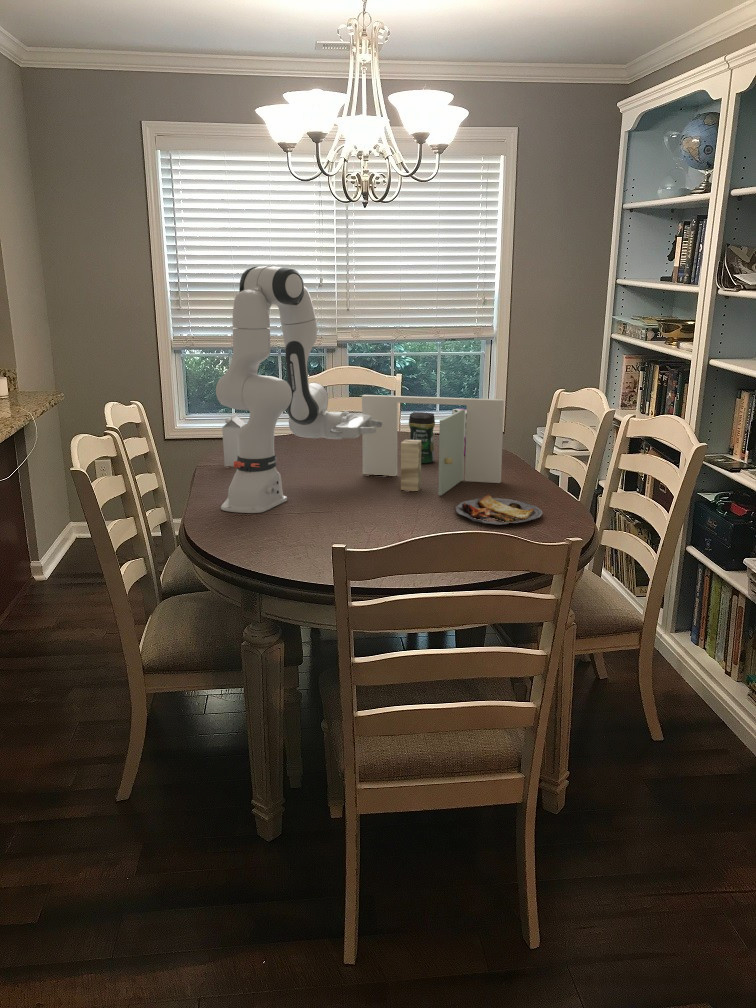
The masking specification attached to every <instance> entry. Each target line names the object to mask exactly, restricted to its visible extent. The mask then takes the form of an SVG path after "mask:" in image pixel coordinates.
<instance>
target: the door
mask: <svg viewBox="0 0 756 1008" xmlns="http://www.w3.org/2000/svg"><path fill="white" fill-rule="evenodd" d="M461 409H462V410H460V411H458V412H456V413H454V414H450V415H447V416H446V417H443V418H441V419H439V430H438V431H439V437H438V438H439V439H438V440H439V441H438V442H439V444H438V445H439V446H438V448H439V449H438V493H437V494H438V496H442V495H444V494H445V493H446V492H448V491H449V490H451V489H452V488H454V487H455V486H456V485H458V484H459V483H460V482H462V481H463V480H464V471H465V456H464V455H465V454H464V431H465V410H466V409H465V408H461Z"/></svg>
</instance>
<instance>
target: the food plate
mask: <svg viewBox="0 0 756 1008" xmlns="http://www.w3.org/2000/svg"><path fill="white" fill-rule="evenodd" d="M454 511H455V512H456V514H457V515H460V516H463V517H465V518H468V519H469V520H470V521H472V522H476V523H482V524H488V525H489V524H490V525H496V526H497V525H510V524H509V523H508V522H510V523H511V522H512V523H514V524H519V523H525V522H528V521H531V520H532V521H534V520H536V519H538V518H540V517H542V515H543V511H542V509H541V508H539V507H537V505H534V504H532V503H530V502H526V501H521V500H517V499H516V500H514V499H511V498H501V497H500V498H499V497H494V498H493V497H492V496H491V495H490V494H486V495H484V496H483V497H482V498H473V499H467V500H464V501H460V502H459V503H458V504H457V505H455V506H454ZM531 516H532V517H531ZM513 517H514V518H513ZM474 518H476V519H474ZM488 518H491V519H492V518H495V519H498V520H501V521H504V522H507V523H504V522H501V521H500V522H497V521H493V522H492V521H488V520H486V521H484V520H483V519H488ZM515 518H518V519H524V520H519V521H517V520H518V519H515ZM478 519H481V520H478ZM514 521H516V522H514Z"/></svg>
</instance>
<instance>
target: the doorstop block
mask: <svg viewBox="0 0 756 1008" xmlns="http://www.w3.org/2000/svg"><path fill="white" fill-rule="evenodd" d="M421 481H422V463H421V440H410V439H404V440H402V441H401V442H400V491H401V490H409V491H418V490H419V491H420V489H421V488H422V487H421V486H422V485H421V484H422V482H421ZM420 487H421V488H420ZM409 491H408V492H409ZM419 491H418V492H419Z"/></svg>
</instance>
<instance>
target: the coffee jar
mask: <svg viewBox="0 0 756 1008" xmlns="http://www.w3.org/2000/svg"><path fill="white" fill-rule="evenodd" d="M435 420H436V419H435V414H434V413H433V412H424V411H420V412H419V411H417V412H416V411H413V412H411V413H410V414H409V419H408V426H409V430H410V432H409V433H410V436H409V440H421V464H429V463H433V462H434V460H435V449H434V428H435V425H436V421H435Z"/></svg>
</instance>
